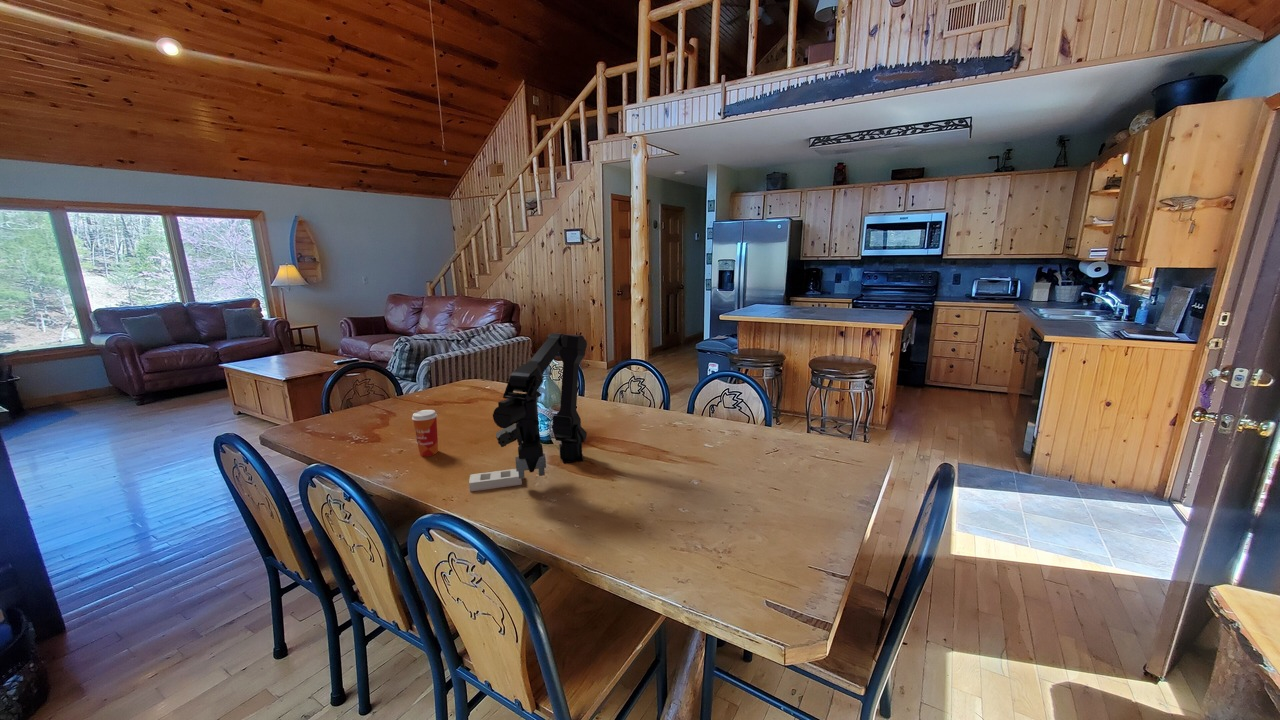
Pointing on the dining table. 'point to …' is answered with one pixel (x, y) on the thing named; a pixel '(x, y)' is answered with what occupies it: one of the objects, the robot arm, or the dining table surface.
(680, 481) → the dining table surface
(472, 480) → the rail
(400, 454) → the dining table surface
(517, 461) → the dark grey blocky piece
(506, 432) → the robot arm
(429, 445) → the paper cup
